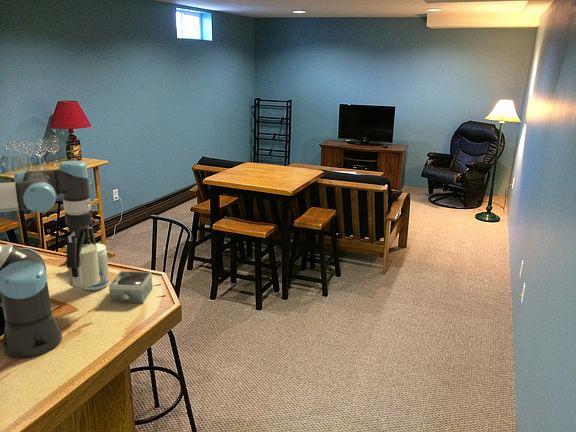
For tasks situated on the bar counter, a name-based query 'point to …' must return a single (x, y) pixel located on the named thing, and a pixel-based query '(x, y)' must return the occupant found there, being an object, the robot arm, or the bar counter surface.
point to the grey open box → (130, 287)
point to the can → (87, 266)
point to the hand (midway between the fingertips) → (84, 278)
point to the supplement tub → (101, 268)
